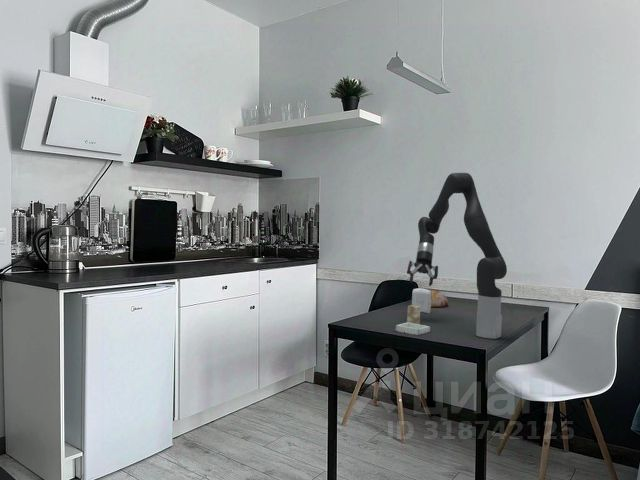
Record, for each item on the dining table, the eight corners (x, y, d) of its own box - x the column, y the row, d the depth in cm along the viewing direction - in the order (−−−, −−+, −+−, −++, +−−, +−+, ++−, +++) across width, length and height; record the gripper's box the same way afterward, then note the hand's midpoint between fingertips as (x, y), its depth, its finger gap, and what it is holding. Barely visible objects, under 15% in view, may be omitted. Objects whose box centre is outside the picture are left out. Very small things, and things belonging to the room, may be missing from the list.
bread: (413, 307, 284) (413, 290, 284) (425, 303, 300) (425, 286, 300) (441, 309, 275) (441, 291, 275) (452, 305, 292) (452, 287, 292)
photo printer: (431, 312, 264) (432, 289, 263) (428, 313, 260) (429, 289, 260) (413, 309, 269) (414, 287, 269) (410, 310, 266) (411, 287, 265)
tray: (429, 332, 215) (430, 326, 215) (418, 335, 207) (418, 329, 207) (407, 327, 222) (407, 322, 222) (395, 330, 214) (395, 325, 214)
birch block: (419, 326, 227) (420, 306, 227) (415, 327, 224) (416, 307, 224) (410, 324, 230) (411, 305, 229) (406, 325, 227) (407, 305, 227)
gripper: (411, 247, 240) (406, 277, 233) (441, 253, 238) (437, 283, 231) (409, 254, 247) (404, 284, 239) (438, 260, 245) (434, 290, 237)
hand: (420, 283), depth 235 cm, fingers open, 8 cm apart
